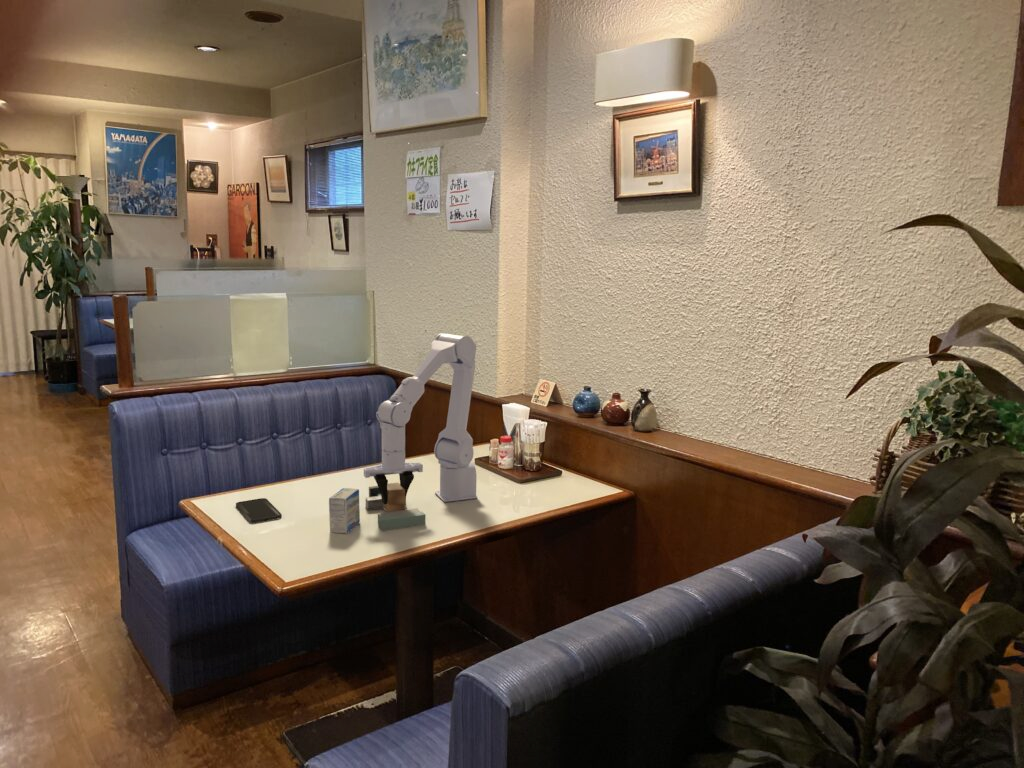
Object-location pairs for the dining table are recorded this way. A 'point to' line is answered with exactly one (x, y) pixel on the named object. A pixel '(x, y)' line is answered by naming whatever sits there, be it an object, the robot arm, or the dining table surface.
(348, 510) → the medicine box
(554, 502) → the dining table surface
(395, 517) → the teal flat block
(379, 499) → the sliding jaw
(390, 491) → the walnut block
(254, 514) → the phone
